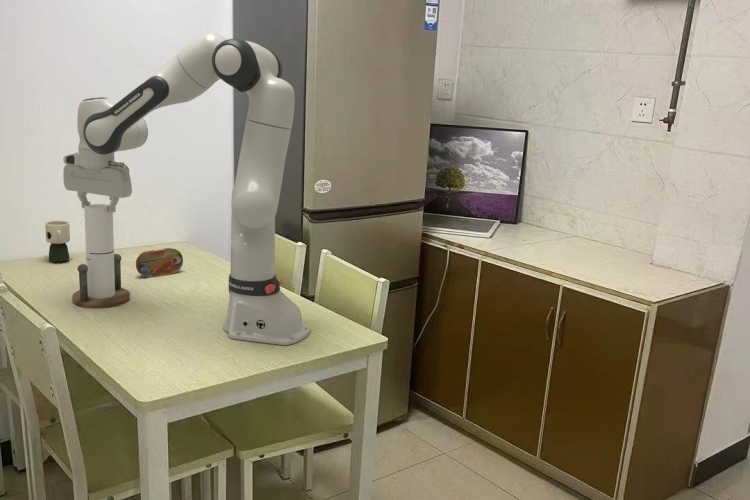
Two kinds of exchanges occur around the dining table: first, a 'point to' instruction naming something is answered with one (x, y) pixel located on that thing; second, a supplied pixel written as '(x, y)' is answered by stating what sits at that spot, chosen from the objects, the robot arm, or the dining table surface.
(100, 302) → the roll holder
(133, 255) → the dining table surface
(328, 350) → the dining table surface
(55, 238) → the character mug
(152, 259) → the tin
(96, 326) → the dining table surface
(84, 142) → the robot arm
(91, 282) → the cylindrical container
